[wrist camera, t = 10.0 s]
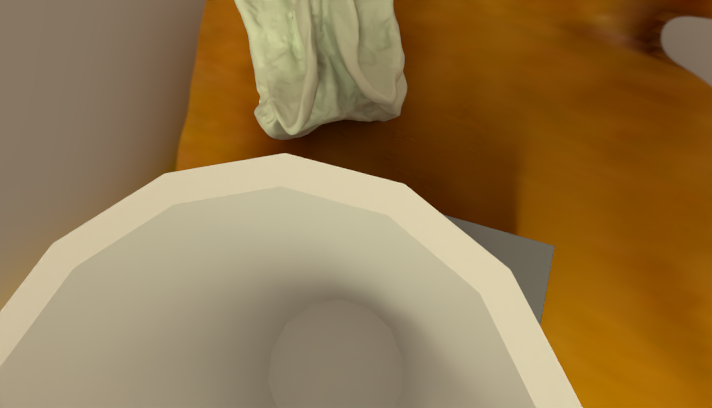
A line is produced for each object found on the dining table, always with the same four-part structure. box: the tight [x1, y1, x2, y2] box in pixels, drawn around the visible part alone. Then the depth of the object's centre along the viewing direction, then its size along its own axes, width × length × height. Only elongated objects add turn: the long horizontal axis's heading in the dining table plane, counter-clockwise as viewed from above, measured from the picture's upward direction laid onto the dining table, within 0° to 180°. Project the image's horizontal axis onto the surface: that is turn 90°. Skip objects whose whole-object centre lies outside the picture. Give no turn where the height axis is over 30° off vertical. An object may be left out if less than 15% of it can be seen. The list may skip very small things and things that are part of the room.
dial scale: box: [442, 214, 554, 325], centre depth 25 cm, size 21×20×9 cm
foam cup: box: [0, 153, 583, 408], centre depth 12 cm, size 10×9×13 cm
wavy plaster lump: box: [235, 0, 407, 140], centre depth 32 cm, size 18×13×16 cm
